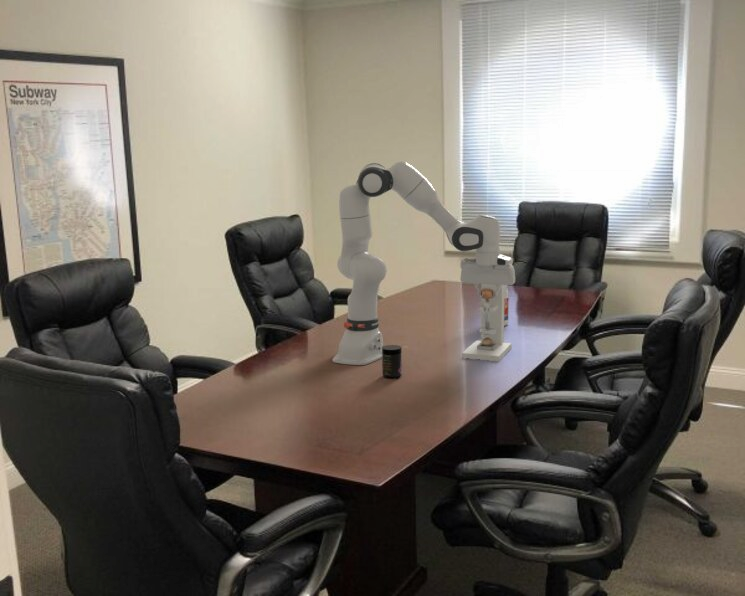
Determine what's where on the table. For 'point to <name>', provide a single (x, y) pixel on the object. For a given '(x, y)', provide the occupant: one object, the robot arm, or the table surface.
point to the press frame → (496, 321)
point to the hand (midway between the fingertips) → (487, 295)
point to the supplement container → (391, 361)
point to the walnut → (487, 342)
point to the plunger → (487, 312)
